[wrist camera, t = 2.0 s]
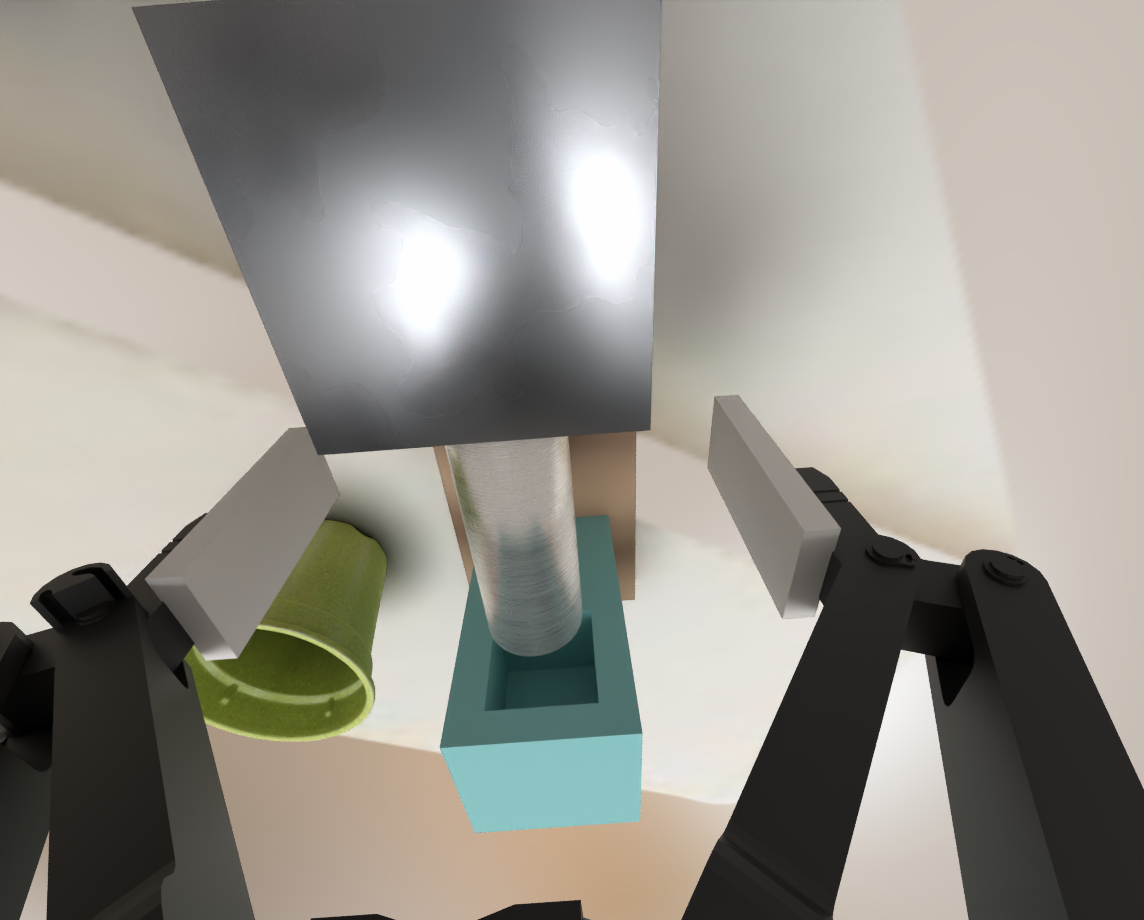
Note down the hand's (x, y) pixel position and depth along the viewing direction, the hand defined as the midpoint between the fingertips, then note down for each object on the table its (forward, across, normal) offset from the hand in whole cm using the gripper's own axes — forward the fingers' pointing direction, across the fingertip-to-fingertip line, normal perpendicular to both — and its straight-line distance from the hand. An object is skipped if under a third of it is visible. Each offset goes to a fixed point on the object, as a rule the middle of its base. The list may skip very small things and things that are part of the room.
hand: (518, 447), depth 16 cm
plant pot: (+8, -13, -12) cm, 20 cm away
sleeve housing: (+7, 0, +7) cm, 9 cm away
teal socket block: (+7, 0, -12) cm, 14 cm away
